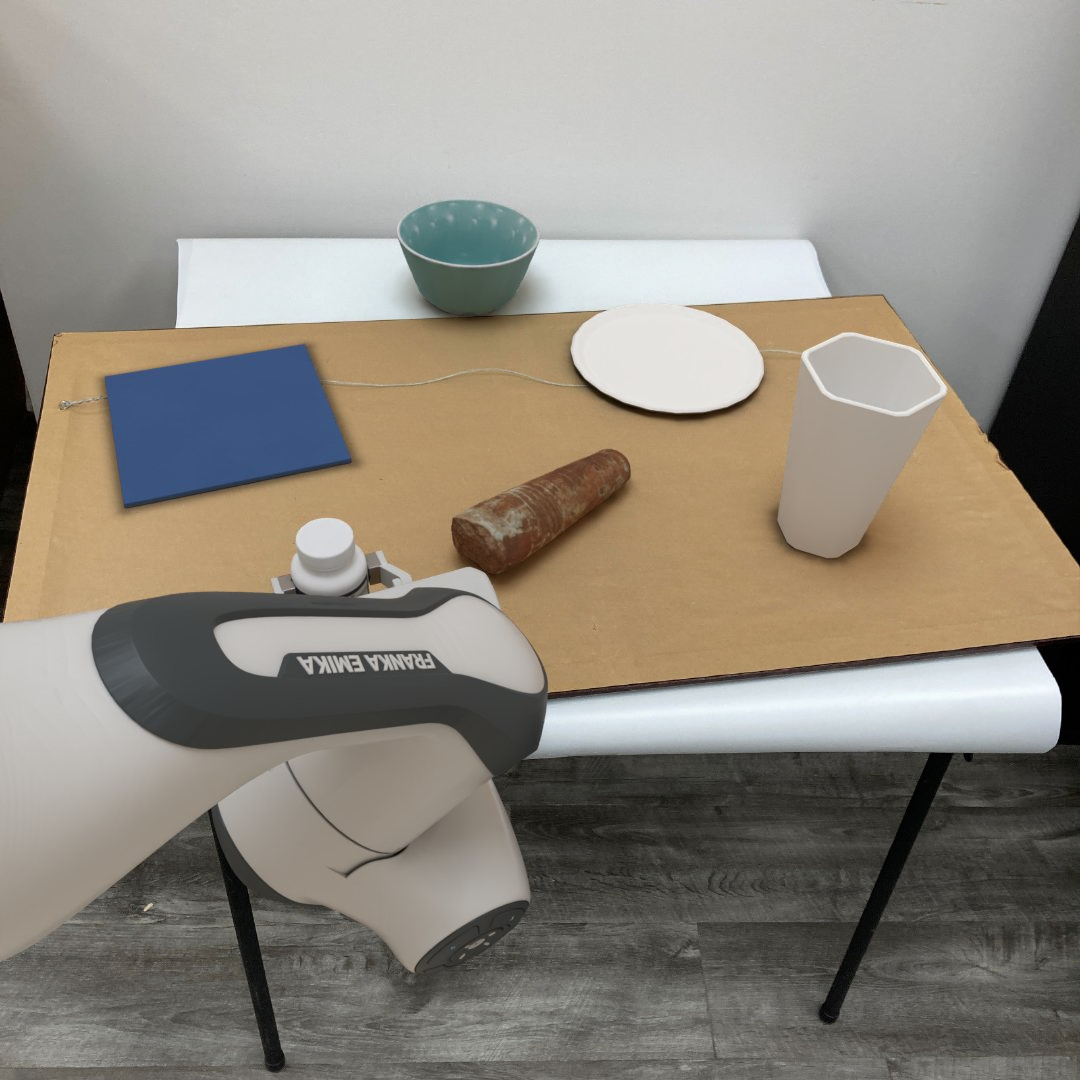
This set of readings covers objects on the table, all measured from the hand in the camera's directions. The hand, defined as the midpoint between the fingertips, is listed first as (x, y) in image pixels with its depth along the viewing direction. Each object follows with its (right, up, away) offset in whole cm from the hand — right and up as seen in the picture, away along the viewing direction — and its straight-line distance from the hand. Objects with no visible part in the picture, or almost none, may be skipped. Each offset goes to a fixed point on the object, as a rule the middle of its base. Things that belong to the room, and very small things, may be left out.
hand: (327, 569), depth 71 cm
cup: (+40, +3, +17) cm, 44 cm away
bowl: (+7, +30, +42) cm, 52 cm away
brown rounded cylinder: (+16, +4, +16) cm, 23 cm away
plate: (+29, +21, +35) cm, 50 cm away
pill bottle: (0, -5, +3) cm, 6 cm away
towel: (-15, +14, +23) cm, 31 cm away
